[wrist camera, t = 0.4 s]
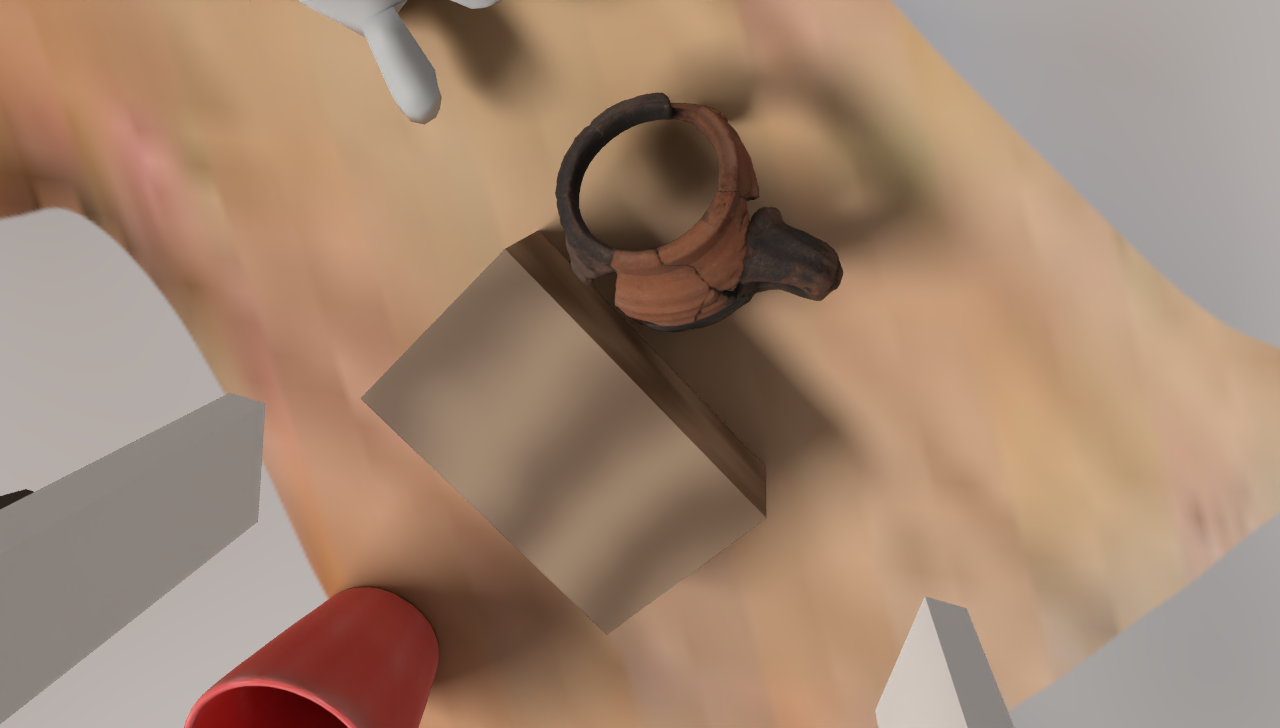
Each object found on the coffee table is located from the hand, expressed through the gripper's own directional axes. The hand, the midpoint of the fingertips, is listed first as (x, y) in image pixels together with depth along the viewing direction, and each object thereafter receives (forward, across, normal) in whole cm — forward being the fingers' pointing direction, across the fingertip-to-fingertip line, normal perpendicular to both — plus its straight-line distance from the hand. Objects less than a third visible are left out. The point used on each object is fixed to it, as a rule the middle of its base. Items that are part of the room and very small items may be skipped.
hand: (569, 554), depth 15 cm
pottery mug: (+22, 0, +3) cm, 23 cm away
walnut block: (+22, -4, -7) cm, 24 cm away
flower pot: (+22, -13, -25) cm, 36 cm away
